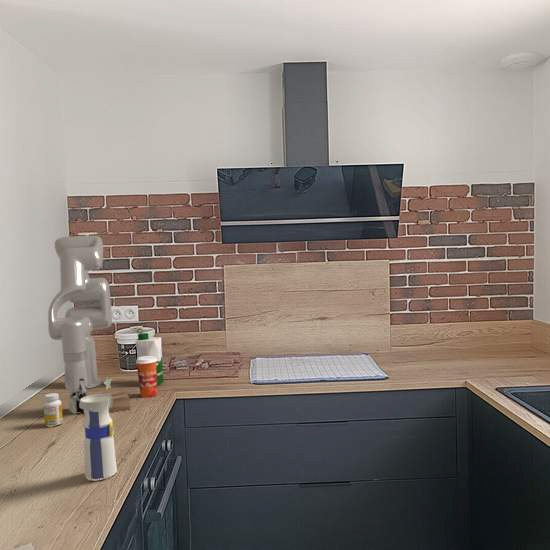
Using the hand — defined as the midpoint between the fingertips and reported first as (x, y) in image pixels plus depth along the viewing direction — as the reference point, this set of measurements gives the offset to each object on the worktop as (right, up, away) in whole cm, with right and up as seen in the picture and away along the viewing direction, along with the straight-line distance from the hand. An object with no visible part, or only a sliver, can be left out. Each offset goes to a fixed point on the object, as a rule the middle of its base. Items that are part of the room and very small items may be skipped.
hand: (79, 409), depth 209 cm
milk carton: (+18, +2, +33) cm, 38 cm away
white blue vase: (+24, -4, -56) cm, 61 cm away
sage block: (0, -1, 0) cm, 1 cm away
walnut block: (+11, 0, +1) cm, 11 cm away
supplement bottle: (-4, -2, -14) cm, 14 cm away
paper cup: (+20, +1, +16) cm, 26 cm away
